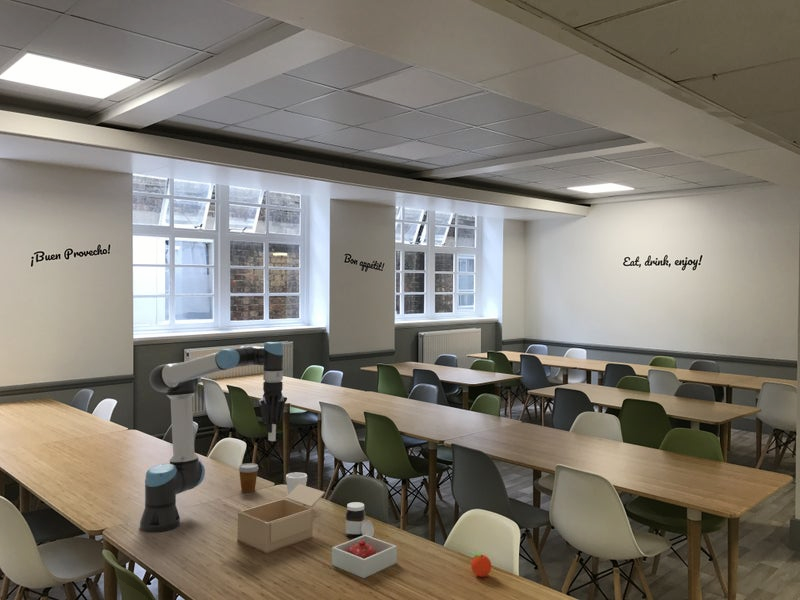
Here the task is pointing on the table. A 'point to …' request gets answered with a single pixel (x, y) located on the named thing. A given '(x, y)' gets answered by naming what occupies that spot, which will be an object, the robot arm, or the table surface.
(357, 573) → the dish caddy
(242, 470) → the disposable coffee cup
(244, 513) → the flap near
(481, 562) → the clementine
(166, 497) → the robot arm
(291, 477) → the foam cup
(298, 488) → the flap far
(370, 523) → the spread jar
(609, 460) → the table surface
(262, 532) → the carton
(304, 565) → the table surface
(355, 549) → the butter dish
